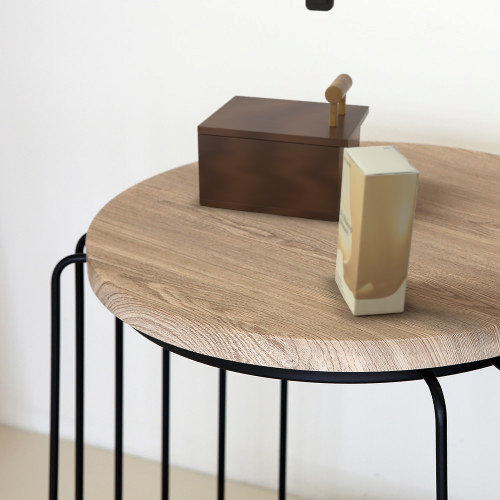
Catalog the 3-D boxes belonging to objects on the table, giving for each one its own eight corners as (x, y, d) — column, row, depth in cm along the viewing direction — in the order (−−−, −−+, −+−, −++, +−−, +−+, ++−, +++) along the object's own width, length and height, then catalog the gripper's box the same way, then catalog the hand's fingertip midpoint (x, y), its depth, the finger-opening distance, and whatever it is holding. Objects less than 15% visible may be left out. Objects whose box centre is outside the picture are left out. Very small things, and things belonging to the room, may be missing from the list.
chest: (357, 179, 91) (361, 113, 88) (335, 221, 80) (339, 147, 77) (235, 166, 95) (235, 102, 92) (199, 205, 84) (197, 134, 81)
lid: (368, 113, 88) (371, 67, 85) (347, 147, 77) (350, 96, 75) (235, 102, 92) (235, 58, 89) (197, 133, 81) (195, 84, 79)
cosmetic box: (333, 281, 69) (340, 145, 63) (382, 277, 69) (393, 142, 64) (353, 319, 63) (363, 173, 58) (406, 314, 64) (421, 169, 58)
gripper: (376, -231, 53) (360, 18, 60) (399, -212, 66) (384, -7, 73) (267, -228, 55) (265, 14, 62) (310, -210, 68) (303, -10, 75)
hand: (329, 2), depth 67 cm, fingers open, 8 cm apart
